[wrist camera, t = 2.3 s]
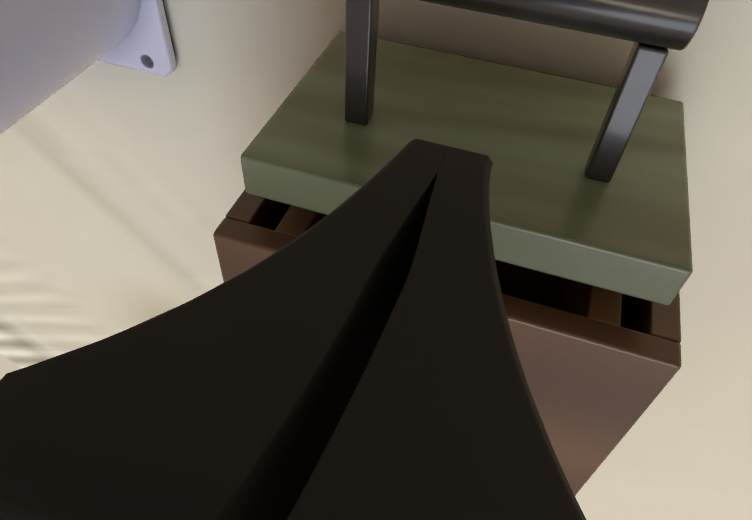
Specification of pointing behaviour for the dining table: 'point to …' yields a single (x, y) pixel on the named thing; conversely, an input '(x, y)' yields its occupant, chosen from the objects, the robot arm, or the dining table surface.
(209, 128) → the dining table surface
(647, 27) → the drawer
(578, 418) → the cabinet
